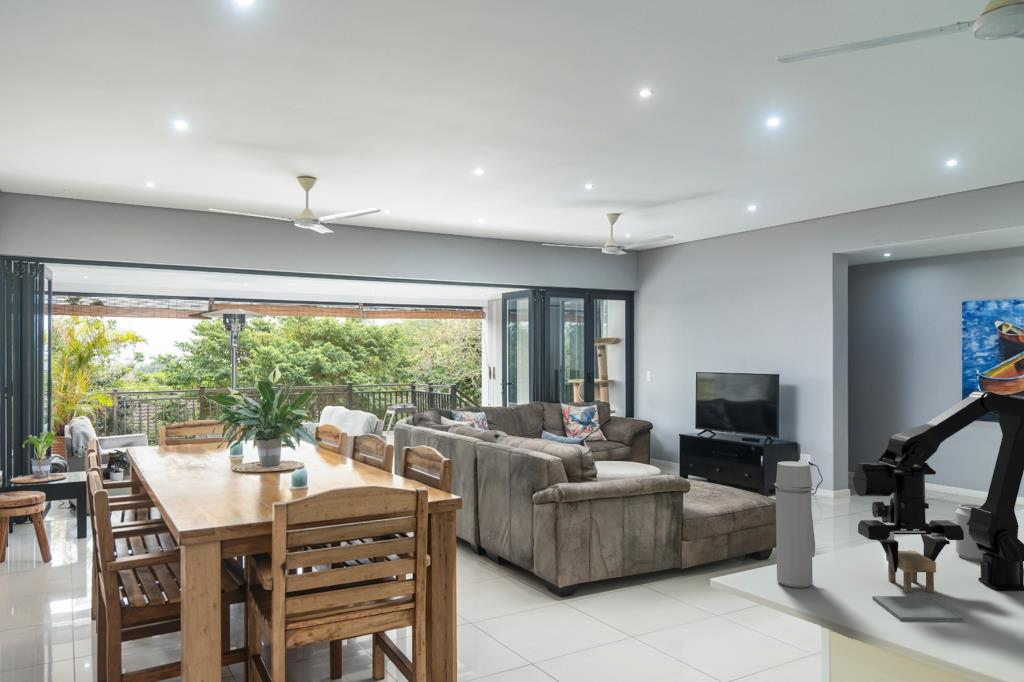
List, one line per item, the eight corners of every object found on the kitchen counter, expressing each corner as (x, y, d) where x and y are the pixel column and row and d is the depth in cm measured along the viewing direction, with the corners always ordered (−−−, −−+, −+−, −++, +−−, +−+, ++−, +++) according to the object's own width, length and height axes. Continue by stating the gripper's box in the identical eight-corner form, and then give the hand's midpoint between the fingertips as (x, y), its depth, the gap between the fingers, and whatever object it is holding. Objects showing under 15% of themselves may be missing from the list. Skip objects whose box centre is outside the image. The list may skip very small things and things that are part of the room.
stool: (915, 580, 150) (915, 550, 150) (936, 593, 142) (935, 562, 142) (886, 580, 150) (885, 550, 150) (905, 593, 142) (905, 562, 142)
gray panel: (930, 599, 138) (930, 596, 138) (963, 621, 127) (963, 617, 127) (872, 599, 139) (872, 596, 139) (900, 620, 128) (900, 617, 128)
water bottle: (795, 591, 143) (794, 467, 144) (767, 580, 151) (765, 462, 151) (829, 585, 147) (827, 464, 147) (800, 574, 154) (798, 459, 155)
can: (993, 555, 167) (992, 504, 167) (994, 564, 160) (993, 510, 161) (956, 551, 171) (955, 501, 171) (955, 559, 164) (954, 507, 165)
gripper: (934, 488, 154) (935, 560, 153) (846, 488, 155) (847, 560, 154) (964, 499, 143) (966, 577, 142) (869, 498, 143) (870, 576, 143)
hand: (910, 571), depth 146 cm, fingers closed on stool, 6 cm apart
